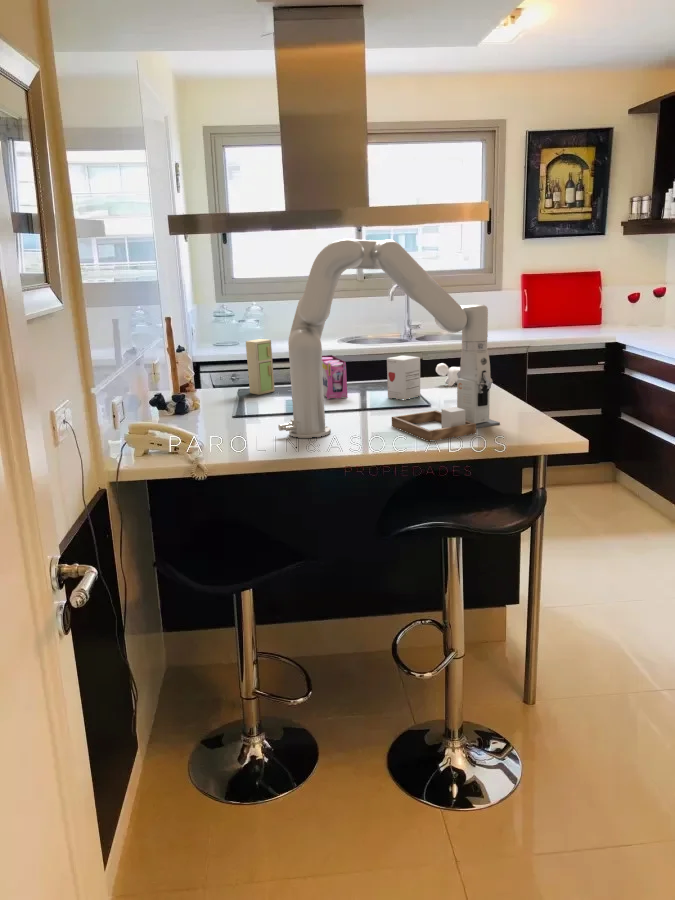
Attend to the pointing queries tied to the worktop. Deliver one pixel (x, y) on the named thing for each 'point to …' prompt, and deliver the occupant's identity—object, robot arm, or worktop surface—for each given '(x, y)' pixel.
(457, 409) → the white block
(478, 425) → the slate mat
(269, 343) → the toy refrigerator
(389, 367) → the supplement box
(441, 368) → the white animal figurine
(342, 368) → the gum box
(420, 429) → the tray
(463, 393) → the small box
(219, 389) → the worktop surface
